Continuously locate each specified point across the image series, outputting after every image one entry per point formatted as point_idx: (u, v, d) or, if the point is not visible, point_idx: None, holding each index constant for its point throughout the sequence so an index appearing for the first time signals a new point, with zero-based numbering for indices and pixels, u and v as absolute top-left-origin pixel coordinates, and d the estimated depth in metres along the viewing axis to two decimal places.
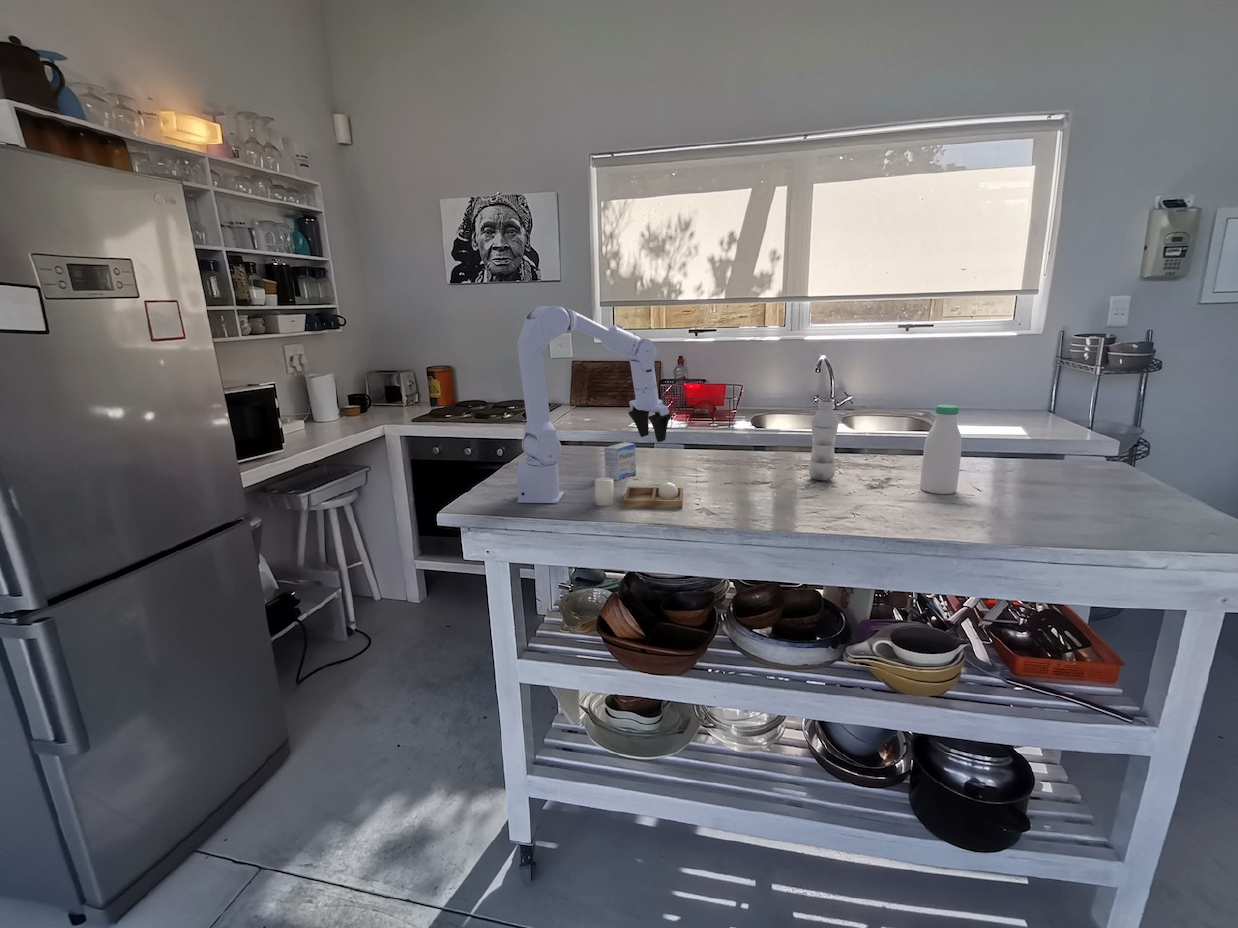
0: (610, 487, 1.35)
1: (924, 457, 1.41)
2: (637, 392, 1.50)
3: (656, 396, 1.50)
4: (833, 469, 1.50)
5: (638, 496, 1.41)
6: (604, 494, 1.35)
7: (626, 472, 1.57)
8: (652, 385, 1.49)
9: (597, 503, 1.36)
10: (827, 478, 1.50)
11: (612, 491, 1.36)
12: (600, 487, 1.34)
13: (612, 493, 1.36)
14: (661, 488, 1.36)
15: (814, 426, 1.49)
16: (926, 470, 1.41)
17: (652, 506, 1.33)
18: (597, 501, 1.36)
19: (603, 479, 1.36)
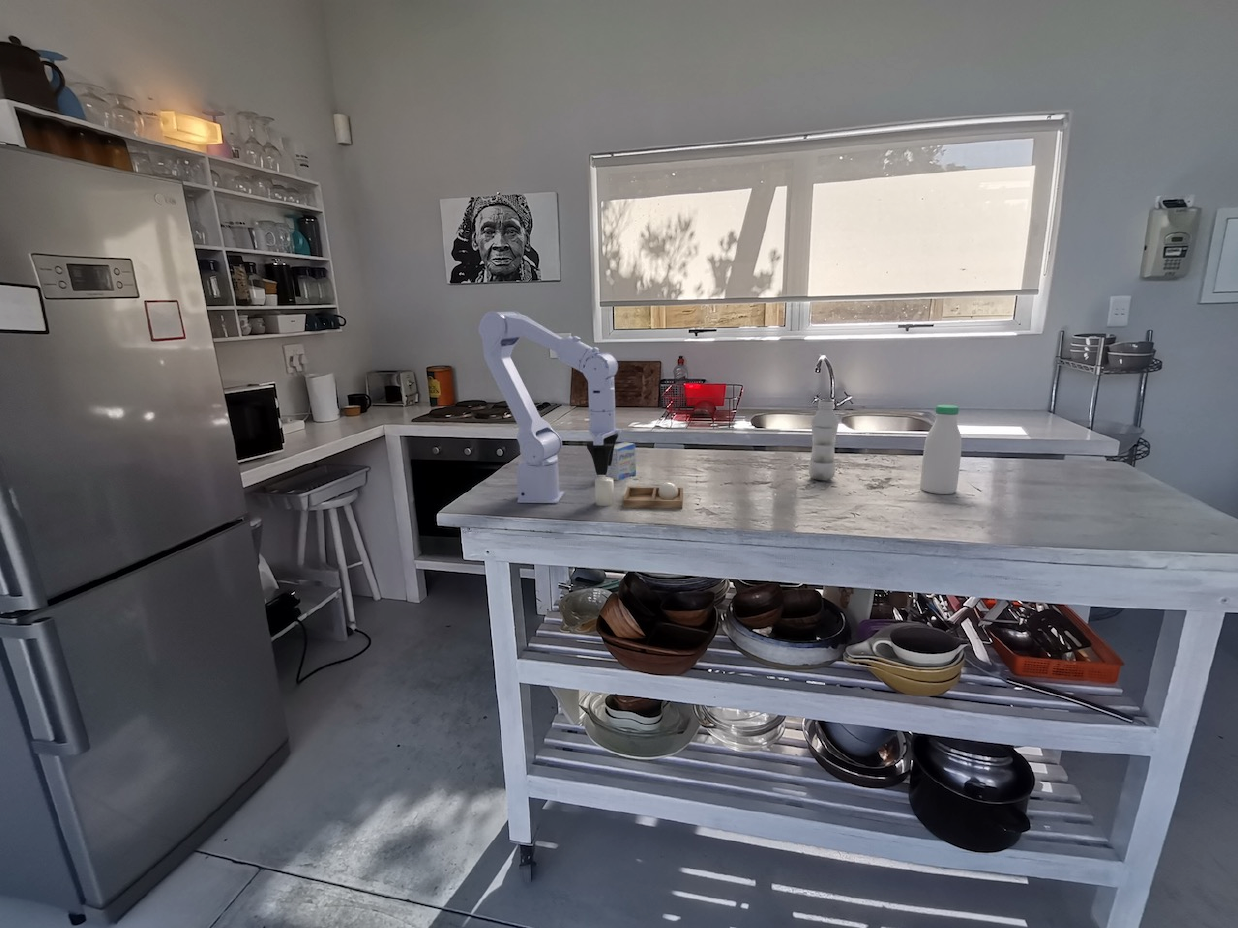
0: (610, 487, 1.35)
1: (924, 457, 1.41)
2: (589, 413, 1.32)
3: (606, 423, 1.30)
4: (833, 469, 1.50)
5: (638, 496, 1.41)
6: (604, 494, 1.35)
7: (626, 472, 1.57)
8: (598, 409, 1.29)
9: (597, 503, 1.36)
10: (827, 478, 1.50)
11: (612, 491, 1.36)
12: (600, 487, 1.34)
13: (612, 493, 1.36)
14: (661, 488, 1.36)
15: (814, 426, 1.49)
16: (926, 470, 1.41)
17: (652, 506, 1.33)
18: (597, 501, 1.36)
19: (603, 479, 1.36)
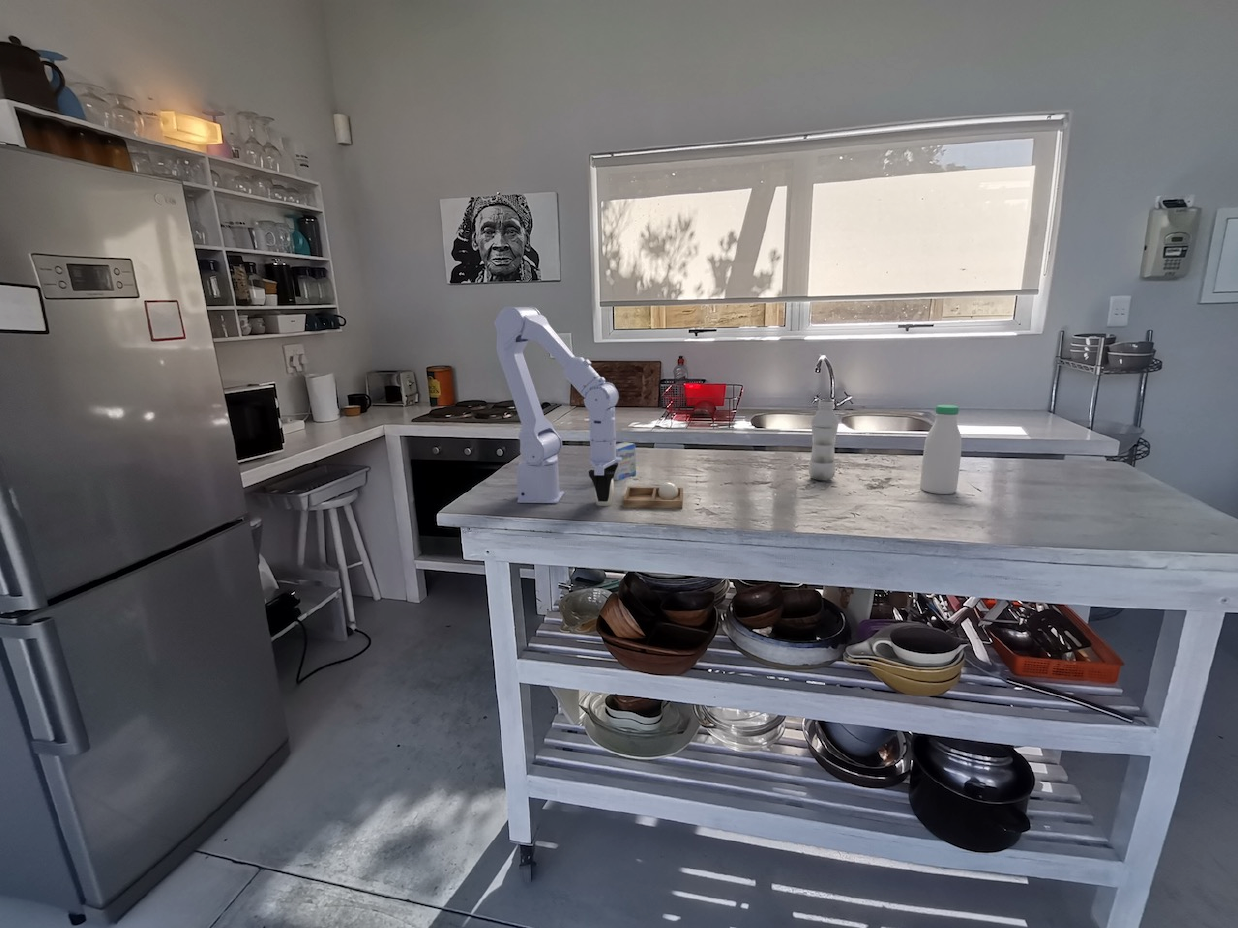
0: (610, 487, 1.35)
1: (924, 457, 1.41)
2: (590, 442, 1.34)
3: (607, 452, 1.32)
4: (833, 469, 1.50)
5: (638, 496, 1.41)
6: None
7: (626, 472, 1.57)
8: (599, 439, 1.31)
9: (597, 503, 1.36)
10: (827, 478, 1.50)
11: (612, 491, 1.36)
12: None
13: (612, 493, 1.36)
14: (661, 488, 1.36)
15: (814, 426, 1.49)
16: (926, 470, 1.41)
17: (652, 506, 1.33)
18: (597, 501, 1.36)
19: None
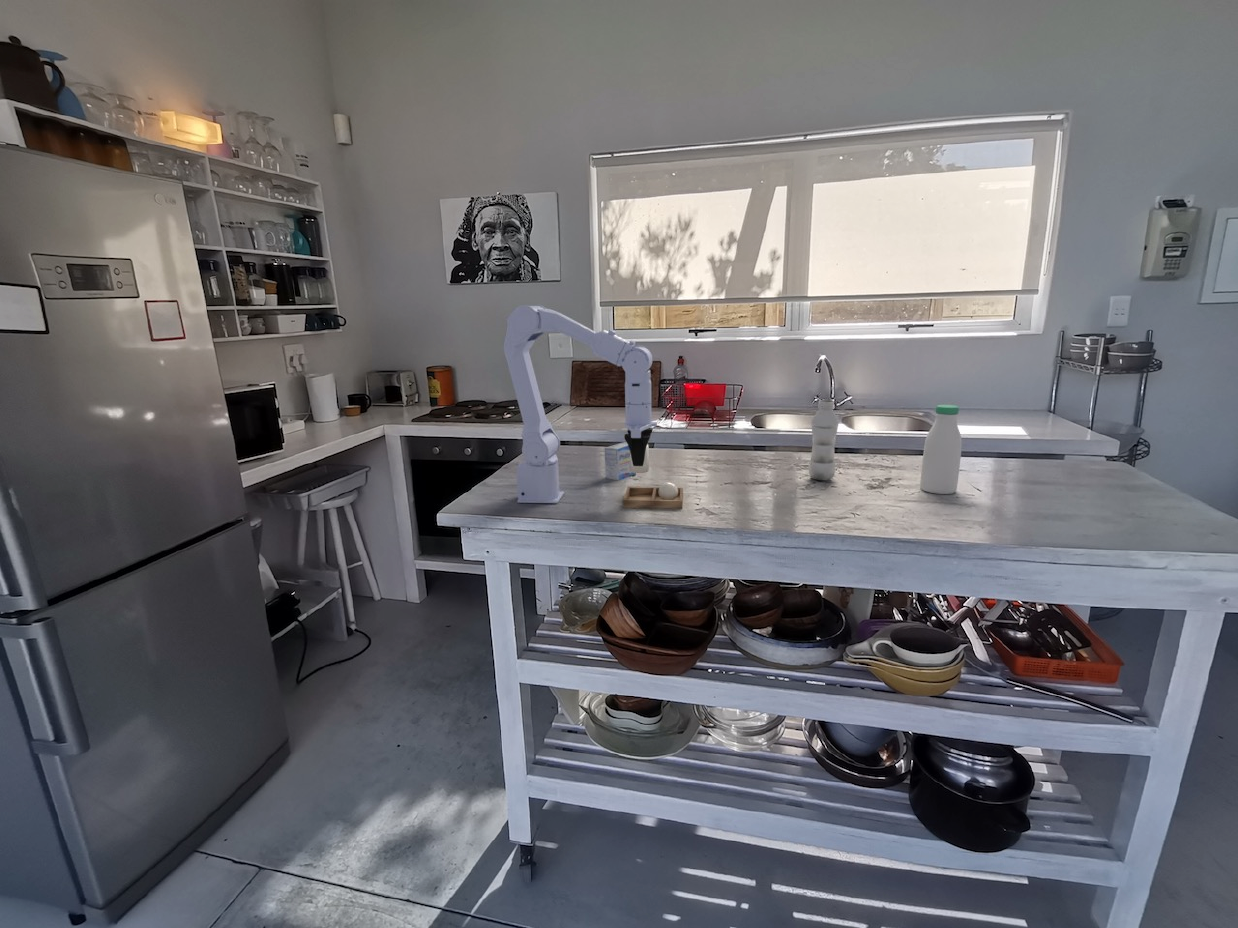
0: (645, 452, 1.34)
1: (924, 457, 1.41)
2: (625, 406, 1.33)
3: (643, 416, 1.31)
4: (833, 469, 1.50)
5: (638, 496, 1.41)
6: None
7: (626, 472, 1.57)
8: (637, 402, 1.30)
9: (632, 468, 1.35)
10: (827, 478, 1.50)
11: (647, 456, 1.35)
12: None
13: (647, 458, 1.35)
14: (661, 488, 1.36)
15: (814, 426, 1.49)
16: (926, 470, 1.41)
17: (652, 506, 1.33)
18: (632, 466, 1.35)
19: None
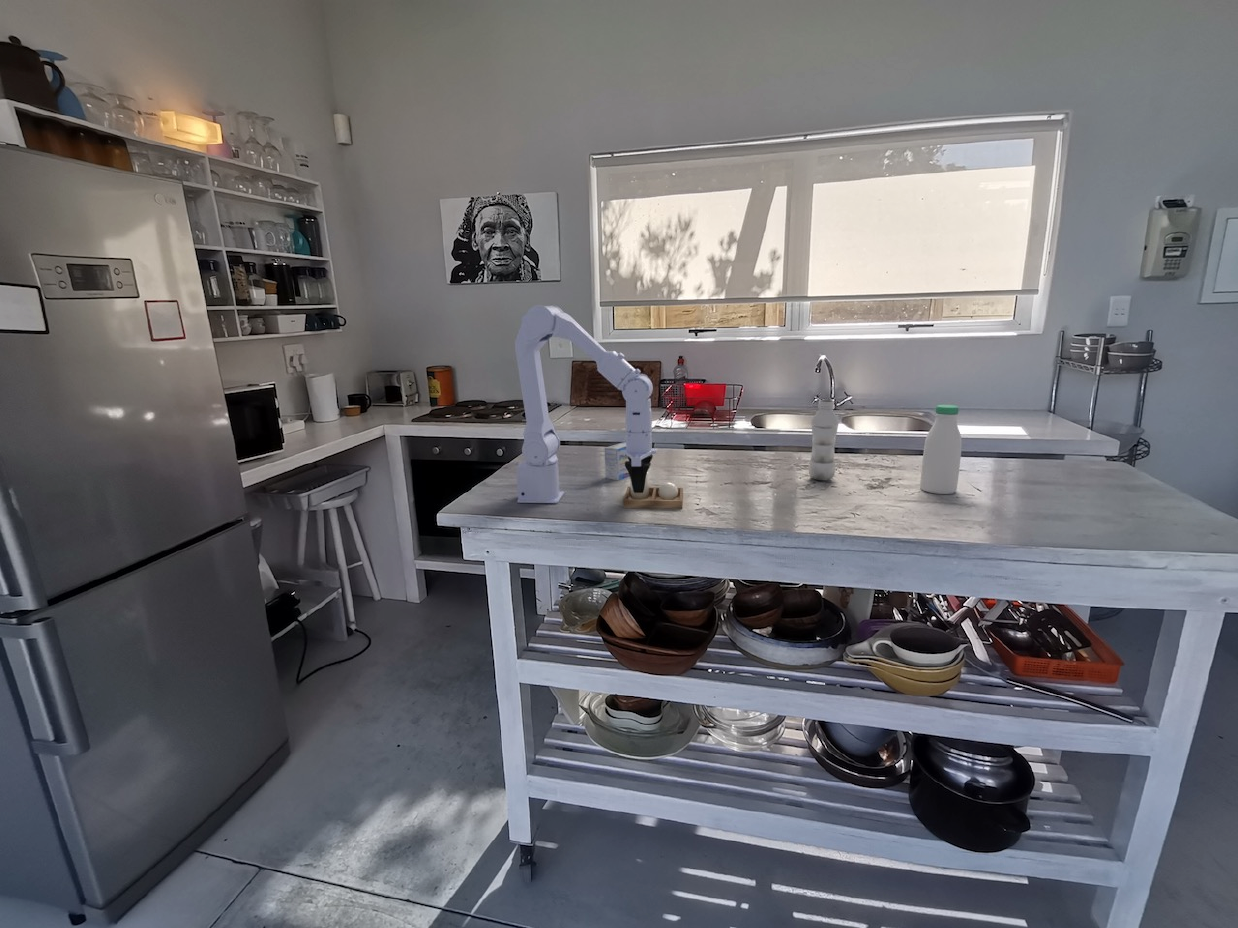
0: None
1: (924, 457, 1.41)
2: (626, 434, 1.34)
3: (643, 444, 1.32)
4: (833, 469, 1.50)
5: None
6: None
7: (626, 472, 1.57)
8: (638, 430, 1.31)
9: (632, 495, 1.37)
10: (827, 478, 1.50)
11: (647, 483, 1.36)
12: None
13: (647, 485, 1.36)
14: (661, 488, 1.36)
15: (814, 426, 1.49)
16: (926, 470, 1.41)
17: (652, 506, 1.33)
18: (632, 493, 1.37)
19: None
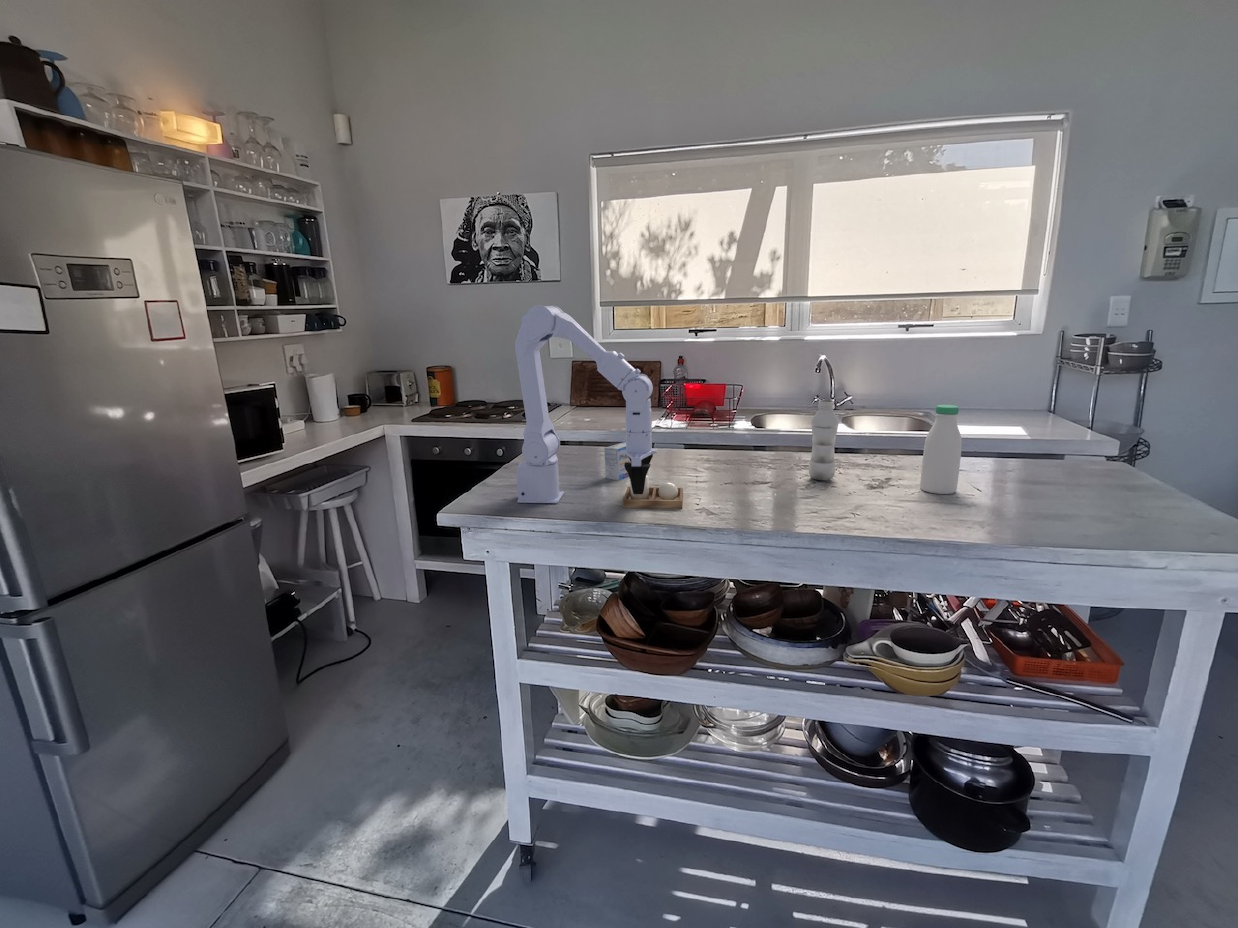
0: (645, 482, 1.36)
1: (924, 457, 1.41)
2: (626, 434, 1.34)
3: (643, 444, 1.32)
4: (833, 469, 1.50)
5: None
6: None
7: (626, 472, 1.57)
8: (638, 430, 1.31)
9: None
10: (827, 478, 1.50)
11: (647, 487, 1.37)
12: None
13: (647, 489, 1.37)
14: (661, 488, 1.36)
15: (814, 426, 1.49)
16: (926, 470, 1.41)
17: (652, 506, 1.33)
18: (632, 497, 1.37)
19: None
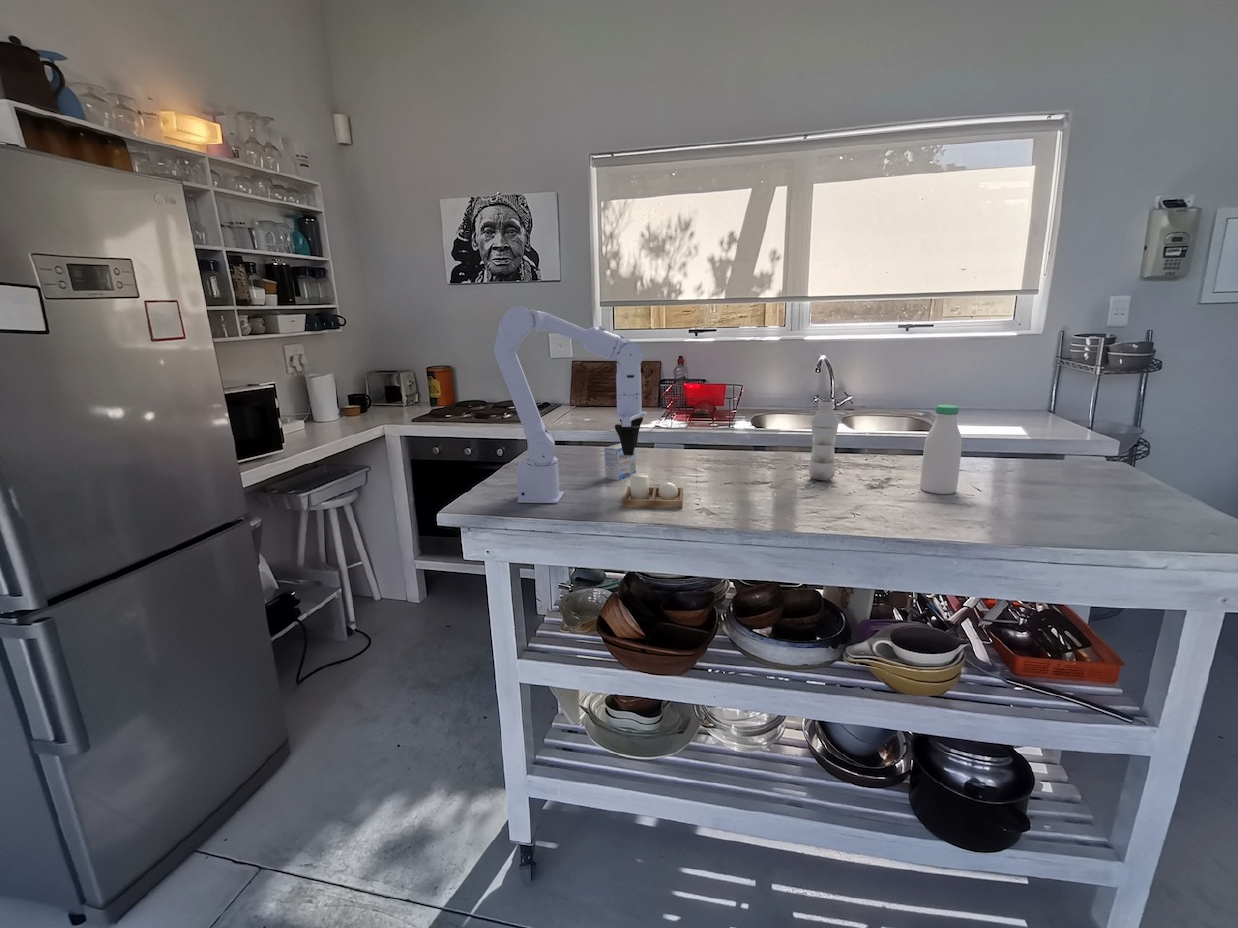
0: (646, 482, 1.36)
1: (924, 457, 1.41)
2: None
3: (633, 406, 1.38)
4: (833, 469, 1.50)
5: None
6: (640, 489, 1.36)
7: (626, 472, 1.57)
8: (632, 393, 1.37)
9: None
10: (827, 478, 1.50)
11: (647, 487, 1.37)
12: (636, 483, 1.35)
13: (647, 489, 1.37)
14: (661, 488, 1.36)
15: (814, 426, 1.49)
16: (926, 470, 1.41)
17: (652, 506, 1.33)
18: (632, 497, 1.37)
19: (638, 475, 1.37)
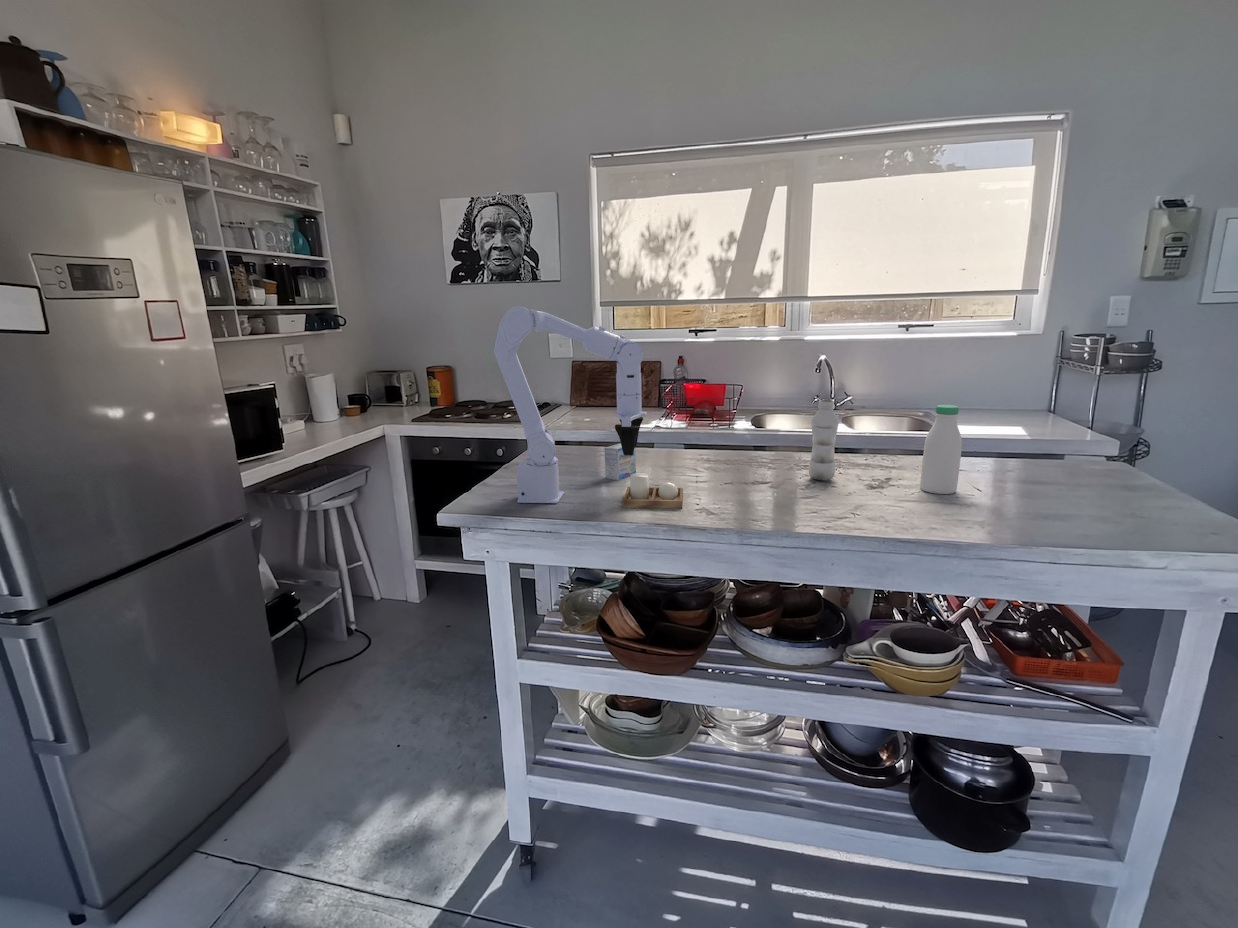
0: (646, 482, 1.36)
1: (924, 457, 1.41)
2: None
3: (633, 406, 1.38)
4: (833, 469, 1.50)
5: None
6: (640, 489, 1.36)
7: (626, 472, 1.57)
8: (632, 393, 1.37)
9: None
10: (827, 478, 1.50)
11: (647, 487, 1.37)
12: (636, 483, 1.35)
13: (647, 489, 1.37)
14: (661, 488, 1.36)
15: (814, 426, 1.49)
16: (926, 470, 1.41)
17: (652, 506, 1.33)
18: (632, 497, 1.37)
19: (638, 475, 1.37)
